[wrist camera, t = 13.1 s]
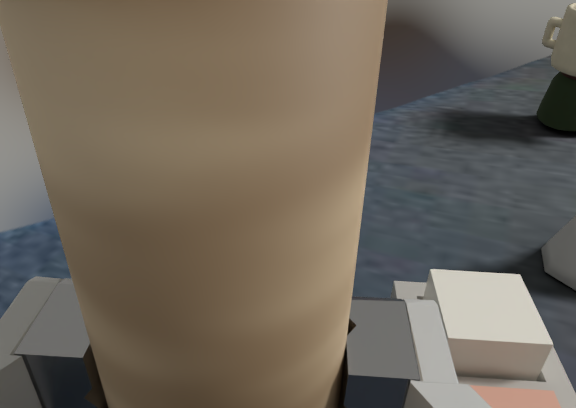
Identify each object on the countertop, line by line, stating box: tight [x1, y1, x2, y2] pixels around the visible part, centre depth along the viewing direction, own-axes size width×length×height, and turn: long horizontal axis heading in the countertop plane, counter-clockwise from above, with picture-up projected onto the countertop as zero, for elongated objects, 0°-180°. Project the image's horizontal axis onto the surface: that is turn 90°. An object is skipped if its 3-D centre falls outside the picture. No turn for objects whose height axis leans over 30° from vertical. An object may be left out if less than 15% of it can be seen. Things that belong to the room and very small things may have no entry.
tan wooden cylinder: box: [0, 0, 388, 408], centre depth 8 cm, size 4×4×13 cm
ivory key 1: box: [423, 269, 554, 381], centre depth 27 cm, size 5×5×3 cm
